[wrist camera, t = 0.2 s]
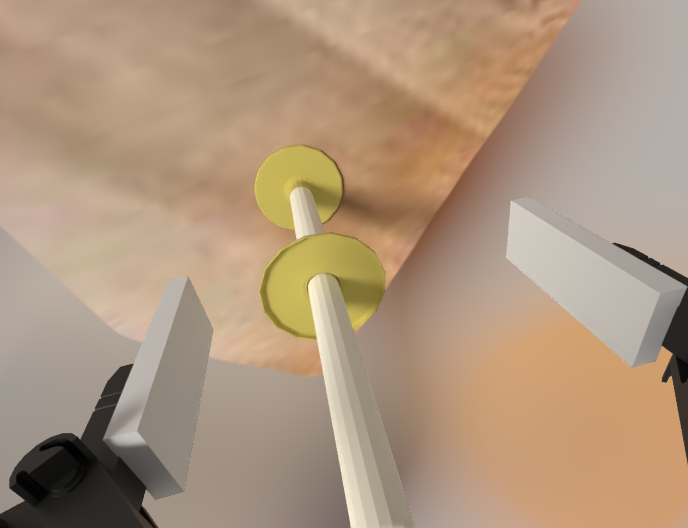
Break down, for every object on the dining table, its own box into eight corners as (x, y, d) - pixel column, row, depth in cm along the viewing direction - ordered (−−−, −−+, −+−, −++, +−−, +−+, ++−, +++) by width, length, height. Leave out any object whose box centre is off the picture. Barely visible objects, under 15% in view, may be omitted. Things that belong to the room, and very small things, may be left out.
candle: (348, 149, 40) (658, 528, 9) (337, 231, 45) (509, 668, 13) (254, 140, 38) (208, 611, 6) (253, 228, 43) (224, 742, 11)
